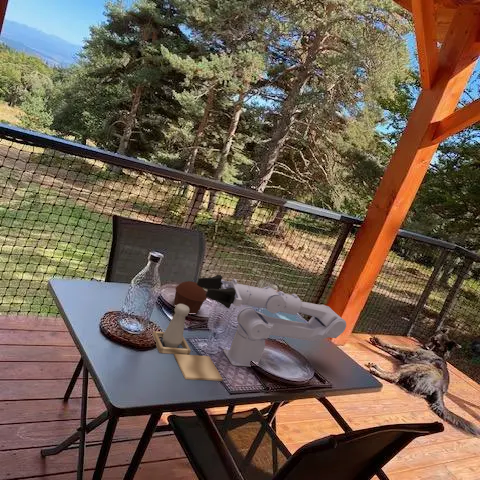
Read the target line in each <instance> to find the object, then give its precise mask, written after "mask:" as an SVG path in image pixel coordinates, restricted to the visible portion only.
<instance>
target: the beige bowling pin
mask: <svg viewBox="0 0 480 480" xmlns="http://www.w3.org/2000/svg"><path fill="white" fill-rule="evenodd" d="M189 311H190V309H189V307H188V306H186V305H184V304H177V305H176V306H175V308H174V314H173V316H172V317H171V320H170V322H169V323H168V326H167V327H166V329H165V331H164V332H165V333H164V334H163V338H162V340H163V341H162V342H163V345H164V347H170V348H179V346H180V345H181V342H182V340H183V337H184V330H185V322H186V317H187V316H189V315H188V314H189Z"/></svg>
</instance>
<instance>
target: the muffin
mask: <svg viewBox="0 0 480 480" xmlns="http://www.w3.org/2000/svg"><path fill="white" fill-rule="evenodd" d="M197 283H198V282H195V281H190V280H188V281H184V282H181V283H179V284H178V285H177V286H176V287H175V295H174V300H173V305H174V304H175V305H177V304H184V305H186V306H188V307H189V309H190V311H189V313H197V312H198V313H199V311H200V309H201V308H202V305H203V304H204V302H205V301H206V300H207V299H208V297H206V293H207V292H206V291H205V288H202V287H200V286H198V285H197ZM198 310H199V311H198ZM198 313H197V314H198Z"/></svg>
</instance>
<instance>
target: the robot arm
mask: <svg viewBox="0 0 480 480" xmlns="http://www.w3.org/2000/svg"><path fill="white" fill-rule="evenodd" d="M196 283H197V285H198V286H200V287H202V288H203V289H204V290H205V289H206V290H207V291H206V292H205V293H206V297H207V299H208V298H209V299H210V300H213V301H215V302H217V303H219V304H221V305H223V306H224V307H225V308H226V309H230V307H231V306H232V305H233V306H234V307H241V306H247V307H243V308H242V309H241V310H239V312H238V313H237V317H236V321H237V323H238V324H237V328H236V332H235V334H234V337H233V339H232V342H231V345H230V348H229V349H223V351H222V352H223V353H224V355H225V356H226V358H227V359H228V361H229V362H230V364H231V365H232V366H234V367H235V366H236V367H238V366H239V367H251V365H250V361H255V362H258V363H260V361H261V358H262V356H263V353H264V351H265V347H266V339H267V340H268V339H269V337H270V336H275V337H276V336H277V337H282V338H289V339H294V340H295V339H296V340H302V341H310V342H317V341H320V340H325V339H327V338H331V339H337V338H338V337H339V336H340V335H342V334H343V333H344V332H345V330H346V328H347V321H346V320H345V319H344V318H343V317H341V316H340V315H339V314H337V312H335V311H334V310H333V309H332V308H331V307H330V306H328V305H325V304H323V303H322V304H318V303H317V304H316V303H311V302H306V301H302V300H301V298H300V297H299V296H298V295H297V294H296V293H292V294H289V293H285V291H282V290H280V291H276V289H274V288H273V287H271V286H264V287H262V288H261V287H256V286H252V285H247V284H244V283H243V284H242V283H238V281H237V279H236V278H232V280H231V281H229V280H228V281H227V280H225V279H223V276H222V275H221V274H217V275H214V276H209V277H199V278H198V280H197V282H196ZM248 306H249V307H248ZM254 308H260V309H261V308H262V309H265V310H267V312H269V313H271V314H277V313H279V312H280V313H283V314H287V315H291V316H295V315H297V314H299V313H300V314H304V315H306V316H307V315H308V316H311V317H310V319H309V320H308V321H307V322H308V323H307V322H301V321H296V320H289V319H284V318H278V317H272V316H268V315H266V314H265V313H263V312H260V311H257V310H256V309H254Z"/></svg>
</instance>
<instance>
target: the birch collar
mask: <svg viewBox="0 0 480 480" xmlns="http://www.w3.org/2000/svg"><path fill="white" fill-rule="evenodd" d="M164 333H165V331H157V330H155V331H154V330H153V331H152V334H151V336H152V335H153V337H154V339H155V342H156V344H155V346H156V348H157V351H158V353H160V354H168V355H169V354H170V355H172V354H173V355H174V354H184V355H191V351H192V350H191V348H190V346H189V345H188V342H187V341H186V339H185V337H184V336H183V340H182V342H181V344H180V345H181V347H182V348H181V347H180V348H179V347H177V348H170V347H165V346H163V344H162V342H161V339H163V334H164ZM153 337H152V338H153ZM159 337H162V338H159ZM154 339H153V340H154ZM155 342H154V343H155Z"/></svg>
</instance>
